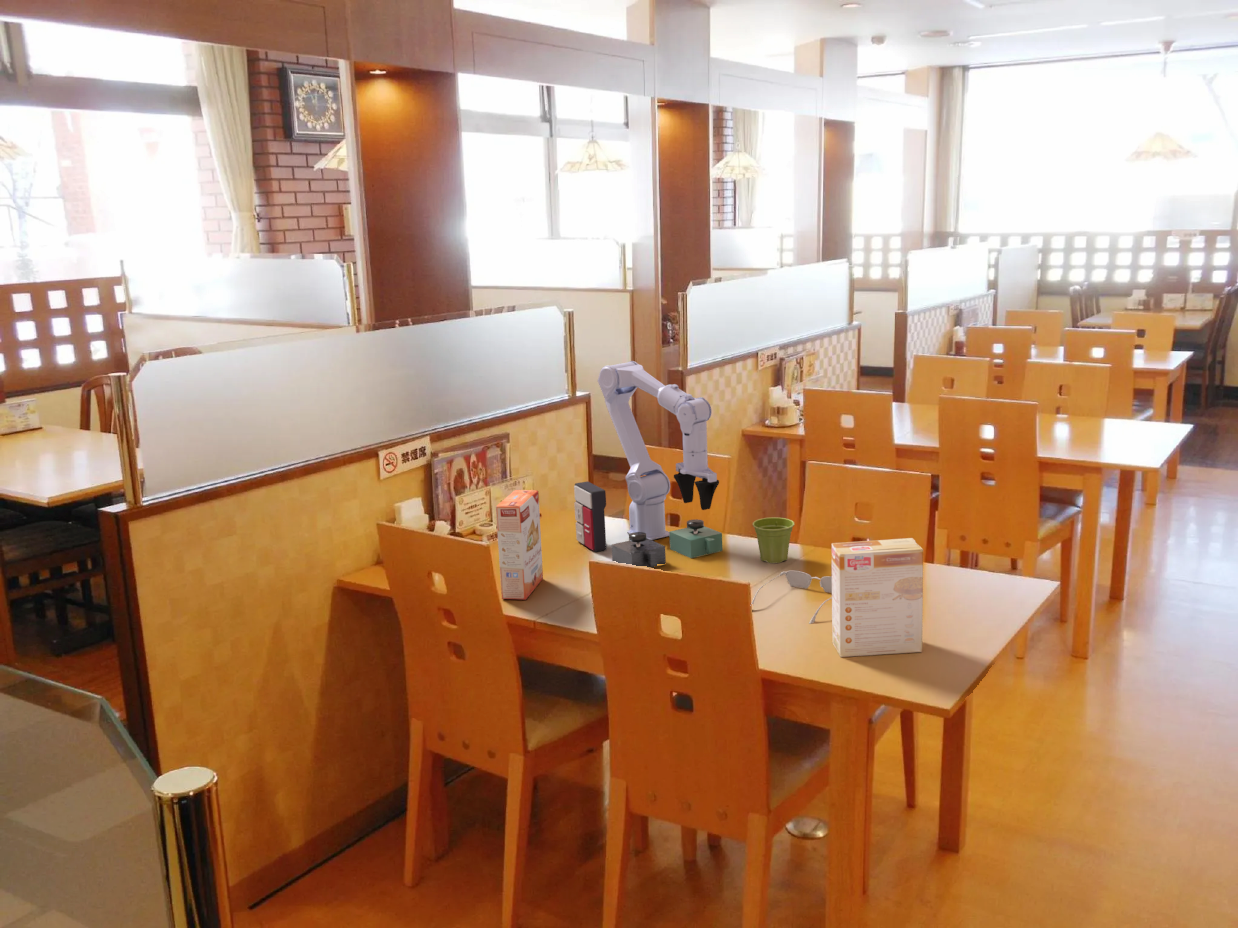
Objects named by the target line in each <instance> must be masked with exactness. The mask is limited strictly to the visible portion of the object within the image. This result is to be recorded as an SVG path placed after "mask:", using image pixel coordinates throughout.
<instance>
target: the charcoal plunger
mask: <svg viewBox="0 0 1238 928" xmlns="http://www.w3.org/2000/svg"><path fill="white" fill-rule="evenodd" d="M646 539H647V538H646V533H644V532H633V533H630V534H629V533H628V541H631V542H636V548H637V547H640V542H643V541H645V540H646Z"/></svg>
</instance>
